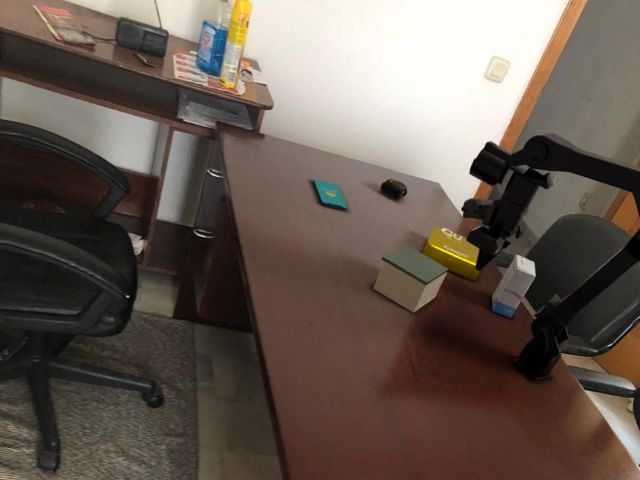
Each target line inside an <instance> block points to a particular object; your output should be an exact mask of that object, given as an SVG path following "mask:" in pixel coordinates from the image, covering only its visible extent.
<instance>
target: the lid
mask: <svg viewBox="0 0 640 480" xmlns="http://www.w3.org/2000/svg"><path fill="white" fill-rule="evenodd" d="M381 260H382V261H383V262H384V261H385V262H387V263H388V264H390V265H392V266H394V267H395V268H397V269H399V270H400V271H402V272H404V273H406V274H407V275H409V276H411V277H412V278H414V279H416V280H417V281H419V282H421V283H423V284H424V285H428V284H429V283H431V282H432V281H434V280H435V279H437V278H438V277H440V276H442V275H443V274H445V273H446V272H447V273H448V272H449V271H448V268H446V267H444V266H443V265H441V264H439V263H437V262H436V261H434V260H432V259H430V258H429V257H427V256H425V255H423V254H422V252H420V251H418V250H416V249H414V248H413V247H412V246H410V245H408V244H404V245H402V246H400V247H398V248H396V249H393V250H392V251H390V252H388V253H387V254H384V255H383V256H382V257H381ZM447 273H446V274H447Z"/></svg>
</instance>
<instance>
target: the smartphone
mask: <svg viewBox="0 0 640 480" xmlns="http://www.w3.org/2000/svg"><path fill="white" fill-rule="evenodd" d="M312 183H313V185H314V188H315V191H316V194H317V196H318V199H319V202H320V204H321V205H323V206H324V207H325V206H327V207H330V208H333V209H337V210H342V211H347V210H348V205H347V203H346V201H345V198H344V195H343V194H342V191H341V189H340V187H339V185H338V184H336V183H332V182H329V181H326V180H321V179H317V178H314V179H313V181H312Z"/></svg>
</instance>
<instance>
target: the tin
mask: <svg viewBox="0 0 640 480" xmlns="http://www.w3.org/2000/svg"><path fill="white" fill-rule="evenodd" d="M447 273H448V271H447V272H446V273H445V274H443V275H442V276H440V277H438V278H437V279H435V280H434V281H432V282H431V283H429V284H428V285H424V284H423V283H421V282H419V281H417V280H416V279H414V278H412V277H411V276H409V275H407V274H406V273H404V272H402V271H400V270H399V269H397V268H395V267H394V266H392V265H390V264H388V263H387V262H385V261H383V264H382V266H381V269H380V271H379V274H378V275H377V279H376V281H375V284H374V285H373V290H375V291H377V292H378V293H380V294H381V295H383V296H385V297H387V298H388V299H390V300H391V301H393V302H395V303H396V304H398V305H399V306H401V307H403V308H405V309H407V310H408V311H410V312H411V313H413V314H414V313H415V312H417V311H418V310H419V309H421V308H422V307H424V306H425V305H427V304H428V303H430V302H432V301H433V300H434V299H435V298H436V296H437V294H438V292H439V290H440V288H441V286H442V284H443V282H444V279H445V277H446V276H447Z"/></svg>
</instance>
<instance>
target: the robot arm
mask: <svg viewBox="0 0 640 480" xmlns="http://www.w3.org/2000/svg"><path fill="white" fill-rule="evenodd" d="M521 166H526V167H527V169H525V168H523V167H521ZM528 167H529V168H528ZM541 171H547V172H546V173H543V172H541ZM552 172H558V173H559V172H561V173H562V172H563V173H571V174H574V175H577V176H580V177H583V178H586V179H589V180H591V181H595V182H598V183H601V184H605V185H608V186H610V187H614V188H617V189H620V190H622V191H623V190H624V191H627V192H630V193H631V194H632V197H633V200H634V203H635V207H636V210H637V214H638V217H639V218H640V167H639V166H636V165H632V164H630V163H627V162H623V161H619V160H617V159H613V158H610V157H606V156H604V155H600V154H597V153H593V152H591V151H586V150H584V149H582V148H580V147H577V146H576V145H575V144H574V143H572V142H570V141H569V140H568V139H566V138H563V137H562V136H560V135H558V134H556V133H554V132H550V131H546V132H542V133H538V134H536V135H534V136H533V135H532V136H531V137H530V138H529V139H528V140H527V141H526V142H525V143H524V145H523V148H522V149H519V150H516V151H514V152H509V151H508V150H505V148H502V147H501V146H499V145H498V144H496V143H495V142H494V141H492V140H490V141H486V142H485V144H484V146H483V148H481V150H480V151H479V152H478V153H477V155H476V157H475V158H473V160H472V162H471V164H470V168H469V172H468V174H469V175H470V176H472V177H474V178H475V179H477V180H479V181H481V182H483V183H485V184H487V185H488V186H490V187H491V188H493V189H495V188H497V187H498V186H501V187H503V186H504V185H505V187H504V188H503V190H502V193H501V194H500V196H499V197H498V198H495V199H494V200H492V199H484V198H479V197H478V198H477V197H470V198H468V199H466V200H464V202H463V205H462V206H461V207H460V211H461V212H462V218H463V219H474V220H482V221H481V224H482V225H480V226H476V227H475V228H472V229H471V230H470V231H469V233H468V235H467V236H466V240H467V242H469V243H471V244H472V245H474V246H476V247H477V248H479V253H478V257H477V261H476V266H475V269H476V270H478V271H480V272H481V271H482V270H483V269H484V268H485V267H486V266H488V264H490V263H491V262H492V261H493V260H495V259H496V258H497V257H498V256H499V255H501V254H502V253H503V252H504V251H506V249H508V248H509V247H511V245H512V242H511V241H509V240H508V239H509V238H511V237H512V236H514V235H515V237H514V238H515V239H517V240H518V239H520V238H522V236H523V234H524V233H525V231H526V229H527V228H526V225H525V222H524V221H522V220H523V218H524V217H525V216H526V215H527V214H528V213H529V211H530V209H529V207H530V205H531V203H532V202H533V200H534V198H535V196H536V195H537V193H538V191H539V189H540V188H543V189H545V190H549V189H551V188H552V187H554V182H553V179H552ZM487 227H488V228H487ZM507 238H508V239H507ZM639 262H640V227H639V228H638V229H637V230H636V232H635V233H634V234H633V236H632V237H631V238H630V239H629V240H628V241H627V243H626V244H625V245H624V246H623V247H622V248H621V249H619V250H618V252H616V253H615V254H614V255H613V256H611V258H609V259H608V260H607V261H606V262H604V263H603V264H602V265H601V266H600V267H599V268H598V269H596V271H594V272H593V273H592V274H591V275H589V277H588V278H586V279H585V280H584V281H583V282H582V283H581V284H580V285H578V286H577V287H576V288H575V289H574V290H573V291H572V292H571V293H569V294H568V295H566V296H564V297H562V298H560V296H559V295H558V294H555V295H554V296H553V297H552V298H551V299H550V300H549V301H548V302H547V303H546V304H543V305H542V306H541V307H540V308H539V309H538V310H537V311H536V312H535V314H534V315H533V317H534V319H533V320H532V322H531V324H530V332H531V335H532V336H533V337H531V339H530V341H527V342H526V344H525V345H524V347H523V348H522V350H521V351H520V353H519V354H518V357H517V358H515V359H513V361H512V362H513V364H514V365H516V367H518V369H520V370H521V371H522V372H523V373H524V374H525V375H526V376H527V377H528V378H529V379H530V380H532V381H540V380H546V379H552V378H553V374H552V373H551V372H552V371H553V369H554V368H555V367H556V365H557V363H558V362H559V361H560V359H561V358H562V356H563V354H562V353H561V352H562V351H563V349H564V348H565V347H566V345H567V344H568V343H569V341H570V336H569V332H568V328H567V326H568V325H569V324H570V323H571V321H572V320H573V319H574V318H575V317H576V315H577V314H578V313H579V312H580V311H582V310H583V309H584V308H585V307H586V306H587V305H588V304H590V303H591V302H592V301H593V300H594V299H595V298H597V297H598V296H599V295H601V293H602V292H604V291H605V290H606V289H608V287H610V286H611V285H612V284H613V283H614V282H616V281H617V280H618V279H620V277H622V276H623V275H624V274H625V273H626V272H628V271H629V270H630V269H631V268H632V267H634V265H636V264H637V263H639Z"/></svg>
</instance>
